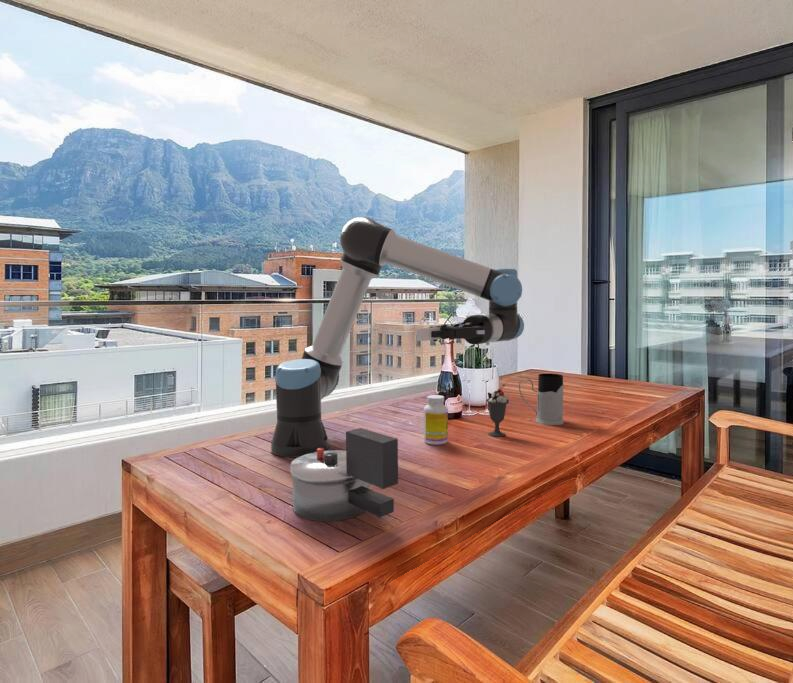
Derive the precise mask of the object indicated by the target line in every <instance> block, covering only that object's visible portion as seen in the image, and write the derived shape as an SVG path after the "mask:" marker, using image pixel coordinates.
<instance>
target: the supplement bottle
mask: <svg viewBox="0 0 793 683" xmlns="http://www.w3.org/2000/svg"><path fill="white" fill-rule="evenodd" d="M444 403H445V396H444V395H439V394H432V395H427V404H426V405H425V406H424V407H423V441H424V442H425V444H428V445H431V446H432V445H434V446H436V445H437V446H439V445H440V446H441V445H444V444H446V443H447V442H448V440H449V438H448V437H449V434H448V433H449V430H448V428H449V426H448V425H449V423H448V422H449V418H448V416H449V412H448V407H447V405H445V404H444Z"/></svg>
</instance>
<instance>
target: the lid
mask: <svg viewBox="0 0 793 683" xmlns="http://www.w3.org/2000/svg"><path fill="white" fill-rule="evenodd" d="M289 470H290V475H291V477H292V476H293V477H294V478H296V479H298V480H301V481H305V482H310V483H322V484H327V483H340V482H346V481H351V480H354V479H359V480H362V481H364V482H367V483H369V485H372V486H374V487H377V488H379V489H381V490H384V489H387V488H390V487H394V486H395V485H399V439H398V438H396V437H393V436H389V435H386V434H382V433H379V432H375V431H372V430H369V429H365V428H362V427H359V428H356V429H355V428H354V429H352V430H346V431H345V450H342V449H341V450H340V449H339V450H338V449H337V450H335V449H334V450H326V451H324V448H317V452H314V453H310V454H306V455H303V456H300V457H295V458H294V460H292V461H291V463H290V468H289Z"/></svg>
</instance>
